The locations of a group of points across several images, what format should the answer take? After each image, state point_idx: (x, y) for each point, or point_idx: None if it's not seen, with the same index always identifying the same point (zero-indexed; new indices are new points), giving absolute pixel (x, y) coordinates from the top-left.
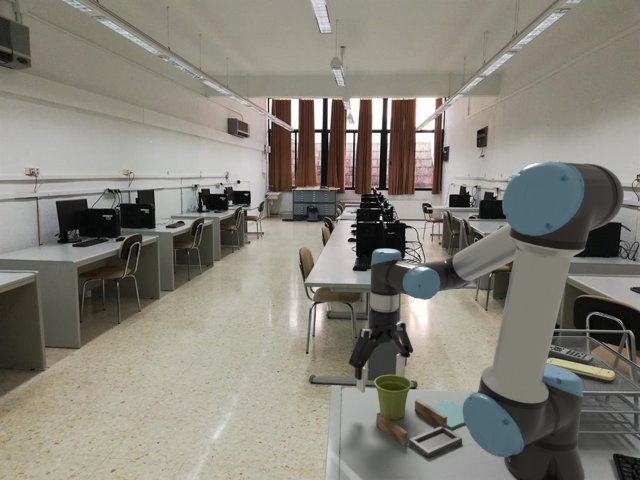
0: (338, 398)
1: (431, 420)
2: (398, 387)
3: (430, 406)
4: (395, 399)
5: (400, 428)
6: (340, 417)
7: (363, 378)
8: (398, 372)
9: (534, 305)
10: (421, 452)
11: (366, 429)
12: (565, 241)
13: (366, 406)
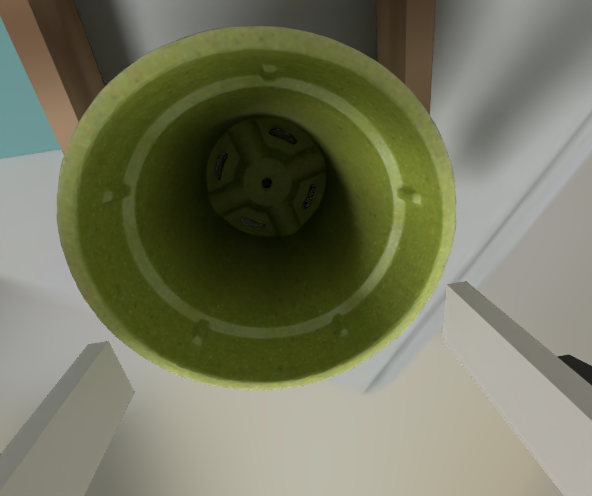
0: (404, 357)
1: (70, 4)
2: (180, 274)
3: (14, 149)
4: (314, 101)
5: None
6: (490, 240)
7: (555, 356)
8: (104, 410)
9: None
10: None
11: (464, 104)
12: None
13: None
